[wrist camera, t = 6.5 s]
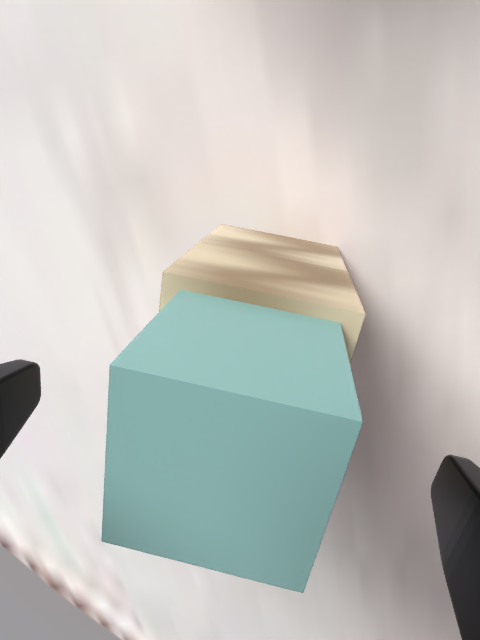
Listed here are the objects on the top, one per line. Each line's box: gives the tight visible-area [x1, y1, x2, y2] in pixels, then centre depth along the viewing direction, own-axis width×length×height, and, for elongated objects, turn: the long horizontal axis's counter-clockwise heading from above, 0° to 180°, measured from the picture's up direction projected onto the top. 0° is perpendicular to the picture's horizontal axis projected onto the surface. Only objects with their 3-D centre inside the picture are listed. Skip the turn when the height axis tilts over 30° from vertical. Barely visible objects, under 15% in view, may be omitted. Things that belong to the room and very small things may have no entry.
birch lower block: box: [201, 224, 347, 271], centre depth 16 cm, size 5×5×4 cm
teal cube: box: [102, 289, 363, 593], centre depth 9 cm, size 4×4×4 cm
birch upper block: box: [159, 241, 366, 363], centre depth 13 cm, size 5×5×4 cm
